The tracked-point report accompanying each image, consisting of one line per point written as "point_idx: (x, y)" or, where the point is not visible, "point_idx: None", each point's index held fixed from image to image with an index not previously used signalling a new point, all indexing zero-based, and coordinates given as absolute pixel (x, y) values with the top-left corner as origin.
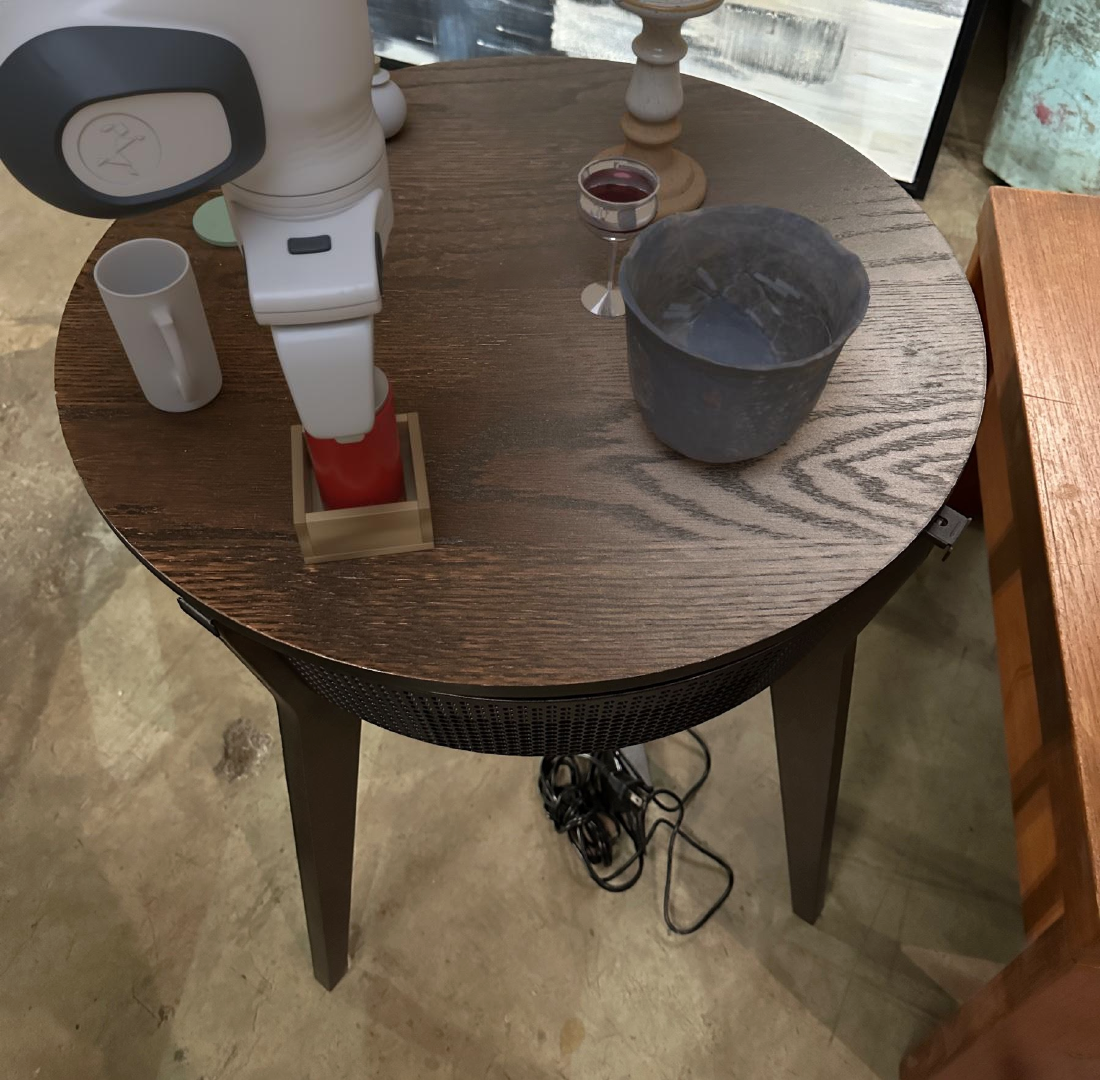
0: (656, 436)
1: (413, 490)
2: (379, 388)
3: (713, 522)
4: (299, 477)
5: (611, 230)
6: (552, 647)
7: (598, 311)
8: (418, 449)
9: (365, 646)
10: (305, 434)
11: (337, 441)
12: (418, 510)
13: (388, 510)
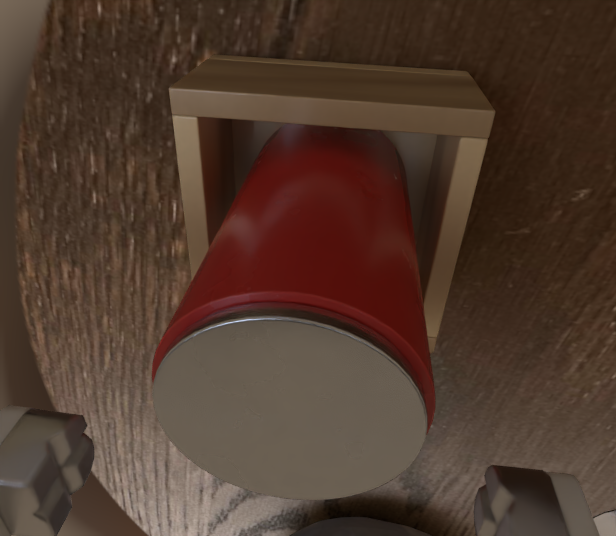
0: (320, 531)
1: None
2: (272, 483)
3: (234, 498)
4: (307, 115)
5: None
6: (72, 346)
7: (606, 517)
8: None
9: (48, 138)
10: (285, 219)
11: (5, 408)
12: None
13: (194, 270)
